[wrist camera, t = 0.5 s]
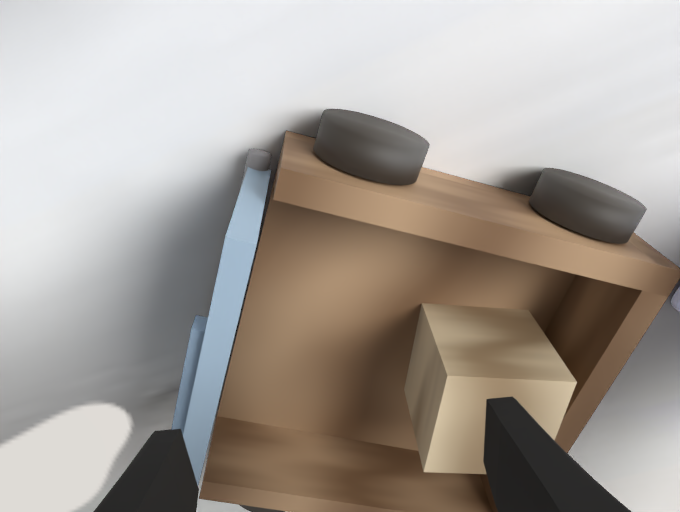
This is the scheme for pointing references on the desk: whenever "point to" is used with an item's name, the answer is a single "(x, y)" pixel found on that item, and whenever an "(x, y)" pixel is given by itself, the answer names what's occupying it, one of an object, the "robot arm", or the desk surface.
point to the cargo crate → (478, 380)
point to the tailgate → (221, 315)
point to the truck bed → (407, 313)
